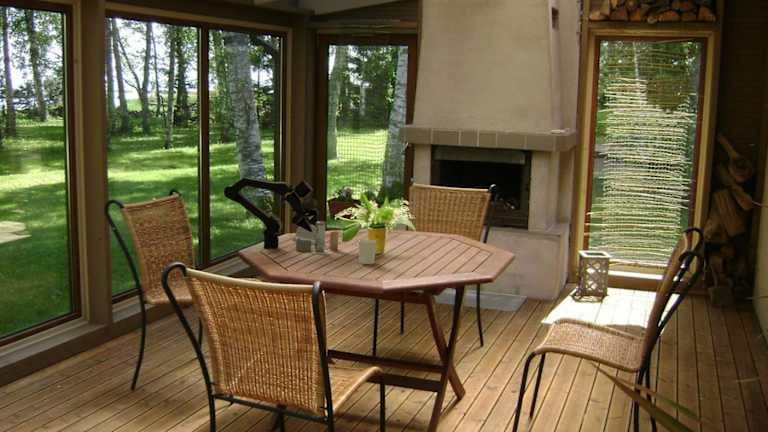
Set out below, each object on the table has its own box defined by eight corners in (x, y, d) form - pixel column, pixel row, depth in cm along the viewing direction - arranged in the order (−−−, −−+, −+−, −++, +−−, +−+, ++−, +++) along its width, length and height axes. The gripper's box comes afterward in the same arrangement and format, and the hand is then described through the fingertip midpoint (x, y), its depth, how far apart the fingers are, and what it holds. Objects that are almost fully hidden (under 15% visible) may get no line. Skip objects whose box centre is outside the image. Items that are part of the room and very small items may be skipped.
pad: (311, 254, 384) (311, 253, 384) (310, 250, 392) (310, 249, 392) (328, 254, 385) (328, 253, 385) (327, 250, 393) (327, 250, 393)
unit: (296, 250, 390) (296, 238, 390) (295, 248, 395) (296, 237, 394) (310, 250, 391) (311, 239, 390) (310, 248, 396) (310, 237, 395)
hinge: (291, 240, 414) (296, 221, 415) (297, 242, 418) (303, 223, 419) (315, 245, 404) (320, 226, 405) (321, 248, 407) (327, 228, 409)
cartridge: (314, 252, 386) (316, 222, 384) (314, 250, 390) (315, 221, 388) (324, 252, 386) (325, 223, 384) (324, 250, 391) (325, 221, 389)
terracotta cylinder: (329, 250, 394) (330, 232, 393) (329, 249, 398) (329, 230, 397) (338, 250, 395) (338, 232, 393) (337, 249, 398) (338, 230, 397)
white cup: (378, 263, 371) (380, 241, 369) (365, 265, 366) (366, 243, 364) (367, 260, 377) (368, 238, 375) (354, 262, 371) (355, 240, 370)
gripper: (298, 195, 378) (318, 222, 376) (316, 191, 395) (336, 217, 393) (282, 210, 382) (302, 237, 380) (301, 206, 400) (320, 231, 397)
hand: (316, 230), depth 388 cm, fingers open, 9 cm apart
